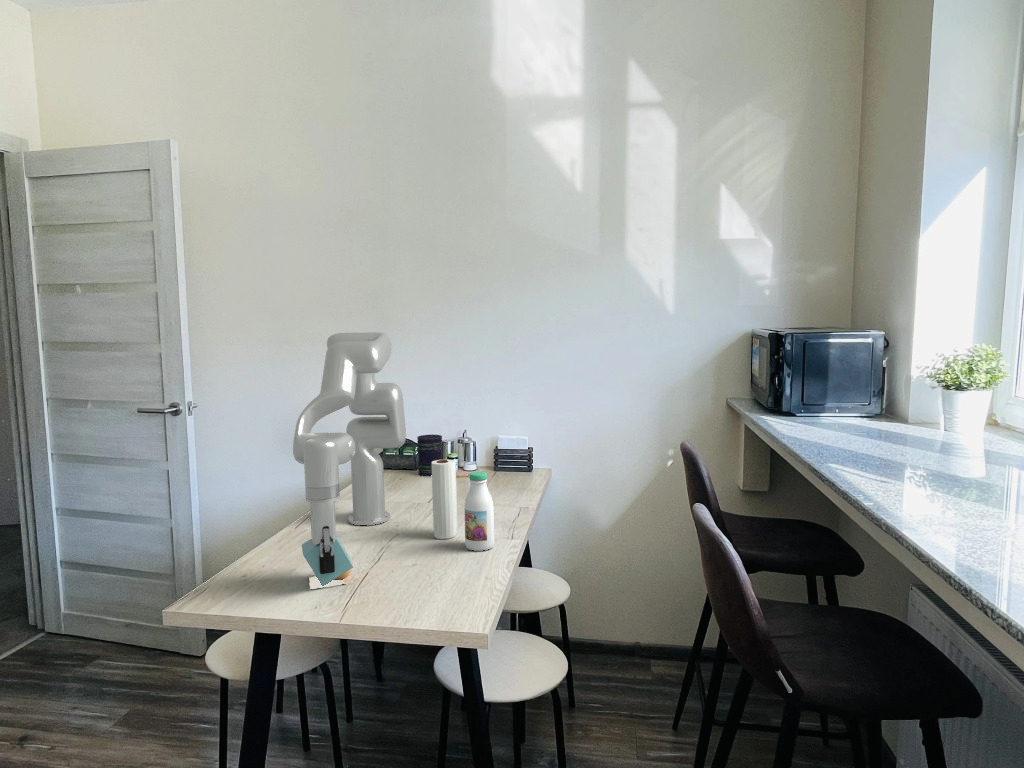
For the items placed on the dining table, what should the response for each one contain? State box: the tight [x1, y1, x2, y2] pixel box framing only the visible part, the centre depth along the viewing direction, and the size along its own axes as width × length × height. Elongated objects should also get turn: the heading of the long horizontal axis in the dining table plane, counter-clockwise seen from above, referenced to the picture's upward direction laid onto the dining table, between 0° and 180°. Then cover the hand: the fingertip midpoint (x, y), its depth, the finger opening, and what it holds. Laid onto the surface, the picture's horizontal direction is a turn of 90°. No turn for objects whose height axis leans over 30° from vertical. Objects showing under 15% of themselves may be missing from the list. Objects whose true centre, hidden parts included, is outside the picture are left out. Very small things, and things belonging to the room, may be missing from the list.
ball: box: [334, 569, 351, 580], centre depth 152 cm, size 5×5×5 cm
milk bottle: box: [464, 471, 495, 552], centre depth 172 cm, size 8×8×20 cm
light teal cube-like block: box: [301, 533, 354, 586], centre depth 151 cm, size 8×8×9 cm
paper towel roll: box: [431, 458, 458, 540], centre depth 181 cm, size 7×6×21 cm
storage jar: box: [416, 434, 443, 477], centre depth 256 cm, size 10×10×15 cm
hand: (325, 566), depth 151 cm, fingers closed on light teal cube-like block, 7 cm apart
